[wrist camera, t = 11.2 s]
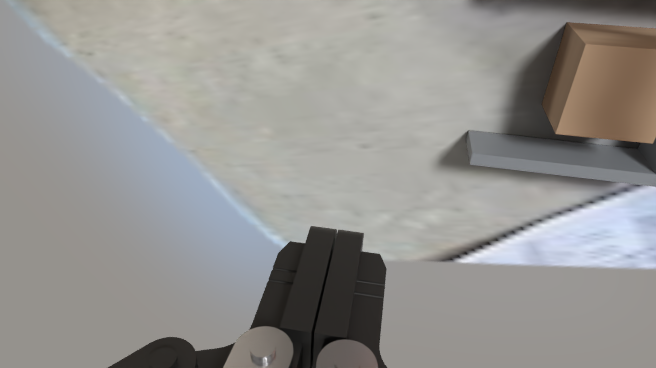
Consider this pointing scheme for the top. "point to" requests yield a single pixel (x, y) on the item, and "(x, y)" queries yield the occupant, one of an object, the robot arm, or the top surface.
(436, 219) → the top surface
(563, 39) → the tile block
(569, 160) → the bin
